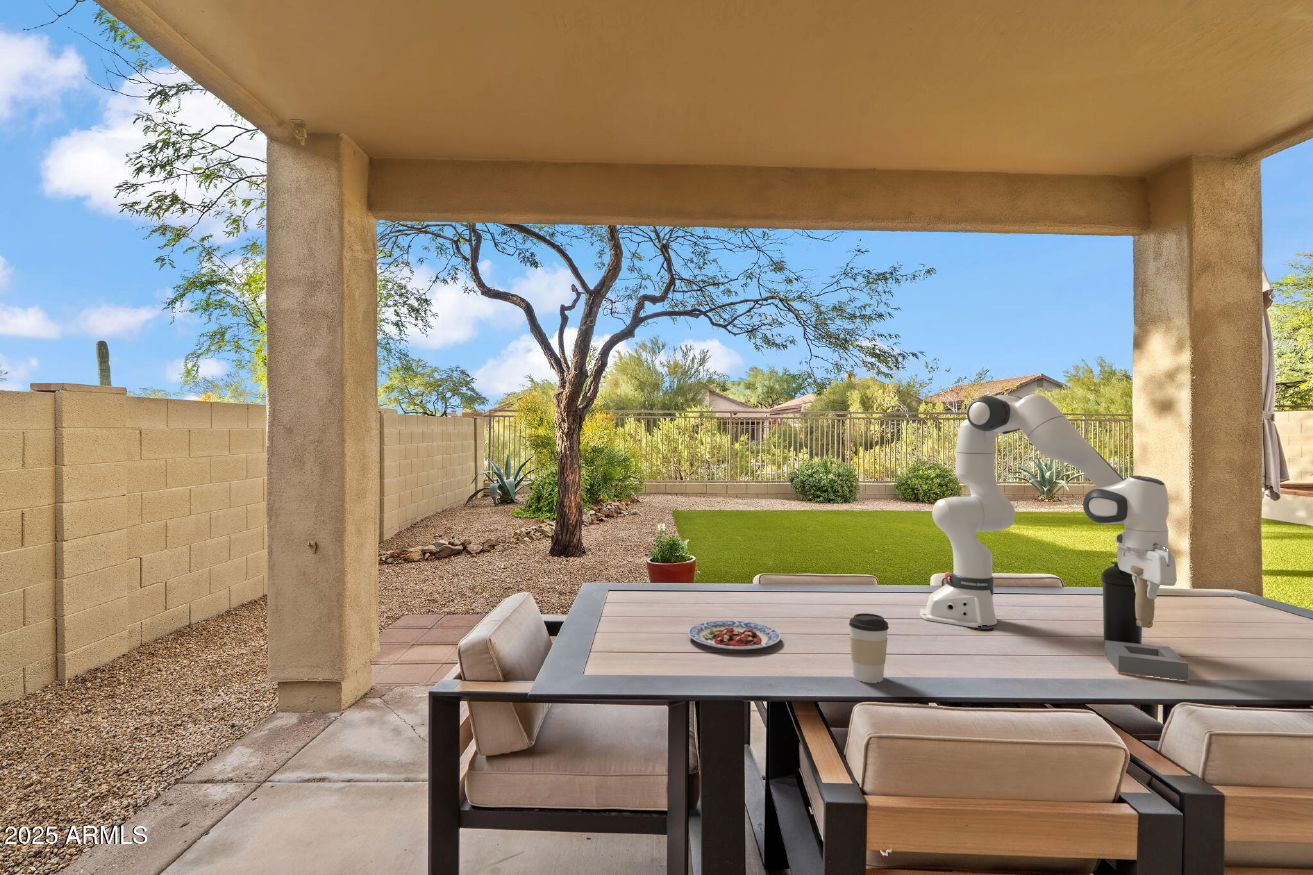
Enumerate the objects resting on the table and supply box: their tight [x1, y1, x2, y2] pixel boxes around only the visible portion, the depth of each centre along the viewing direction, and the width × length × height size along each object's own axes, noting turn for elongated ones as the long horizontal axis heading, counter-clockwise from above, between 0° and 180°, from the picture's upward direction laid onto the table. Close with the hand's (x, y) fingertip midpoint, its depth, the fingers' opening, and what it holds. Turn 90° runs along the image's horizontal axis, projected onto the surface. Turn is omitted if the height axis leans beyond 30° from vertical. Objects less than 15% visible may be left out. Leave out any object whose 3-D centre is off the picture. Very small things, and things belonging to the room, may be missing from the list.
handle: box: [1130, 565, 1156, 629], centre depth 165 cm, size 5×6×15 cm
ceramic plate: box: [688, 619, 782, 651], centre depth 185 cm, size 26×26×3 cm
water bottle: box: [1100, 561, 1143, 646], centre depth 183 cm, size 10×10×23 cm
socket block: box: [1103, 640, 1189, 682], centre depth 165 cm, size 14×13×4 cm
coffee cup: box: [848, 612, 890, 684], centre depth 157 cm, size 9×9×15 cm
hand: (1145, 596), depth 165 cm, fingers closed on handle, 3 cm apart
